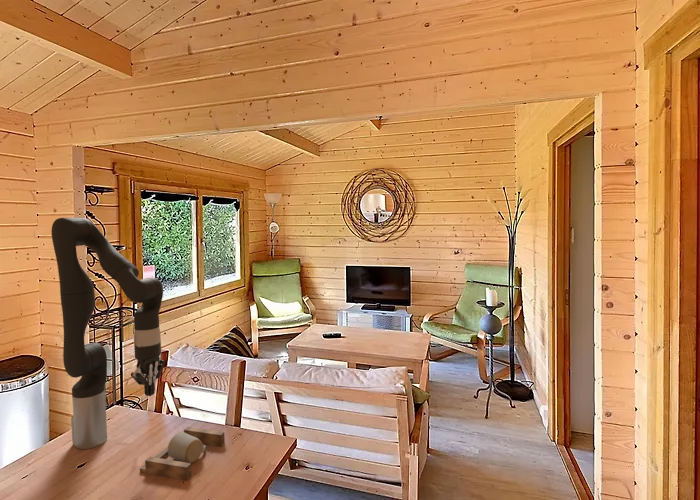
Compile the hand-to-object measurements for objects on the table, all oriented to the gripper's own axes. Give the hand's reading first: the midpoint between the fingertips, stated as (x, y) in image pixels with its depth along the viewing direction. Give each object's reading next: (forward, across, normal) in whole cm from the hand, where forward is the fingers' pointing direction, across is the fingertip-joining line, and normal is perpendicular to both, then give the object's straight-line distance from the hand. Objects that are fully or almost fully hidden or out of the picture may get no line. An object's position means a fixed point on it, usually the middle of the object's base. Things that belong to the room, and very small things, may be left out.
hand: (149, 394), depth 131 cm
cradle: (+19, 0, +13) cm, 23 cm away
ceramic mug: (+19, -1, +13) cm, 23 cm away
